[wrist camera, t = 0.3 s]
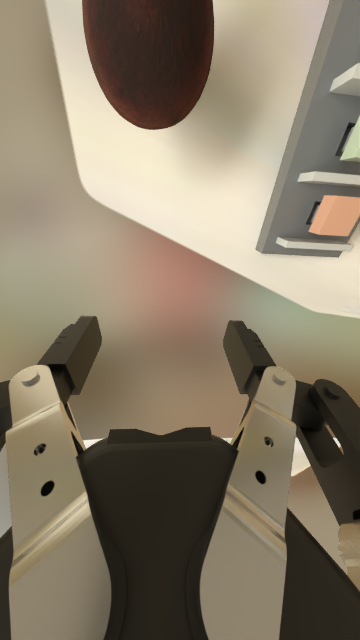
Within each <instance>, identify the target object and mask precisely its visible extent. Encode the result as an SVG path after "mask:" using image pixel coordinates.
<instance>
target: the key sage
mask: <svg viewBox="0 0 360 640" xmlns="http://www.w3.org/2000/svg"><path fill="white" fill-rule="evenodd" d="M342 151H344V152H343V154H342V157H341V159H340V160H343V161H353V162H360V116H359V118H358V120H357V123H356V125H355V126H354V127H352V128H351V131H350V133H349V135H348V138H347V140H346V142H345V144H344V147H343V149H342Z"/></svg>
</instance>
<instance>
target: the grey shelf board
mask: <svg viewBox="0 0 360 640" xmlns="http://www.w3.org/2000/svg"><path fill="white" fill-rule="evenodd" d="M359 116H360V0H330V2H329V5H328V9H327V12H326V15H325V19H324V22H323V25H322V29H321V32H320V35H319V39H318V42H317V45H316V49H315V52H314V56H313V59H312V62H311V66H310V69H309V72H308V76H307V79H306V82H305V86H304V89H303V92H302V96H301V99H300V102H299V106H298V109H297V112H296V116H295V119H294V122H293V126H292V129H291V132H290V136H289V139H288V142H287V146H286V149H285V153H284V156H283V159H282V163H281V166H280V169H279V173H278V176H277V179H276V183H275V186H274V189H273V193H272V196H271V199H270V203H269V206H268V209H267V213H266V216H265V219H264V223H263V226H262V229H261V233H260V236H259V239H258V243H257V246H256V250H257V251H259V252H261V253H265V254H284V255H303V256H322V257H339V256H340V254H341V253H342V251H351V249H352V248H353V246H354V245H352V244H348V243H347V242H348V240H349V239H350V237H351V235H352V234H353V232H354V230H355V228H356V227H357V225H358V223H359V221H360V216H359V218H358V219H357V221H356V223H355V225H354V226H353V228H352V230H351V232H350V233H349V235H348V236H334V235H318V234H315V233H311V232H308V231H309V229H310V227H311V225H312V222H311V220H312V218H313V216H314V213H315V211H316V209H317V206H318V205H320V204H321V202H322V200H323V197H324V195H329V196H347V197H359V198H360V162H353V161H343V160H340V159H341V157H342V154H343V152H344V151H342V149H343V147H344V144H345V142H346V140H347V138H348V135H349V133H350V131H351V128H352V127H354V126H355V125H356V123H357V120H358V118H359Z"/></svg>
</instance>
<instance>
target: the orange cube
mask: <svg viewBox="0 0 360 640" xmlns="http://www.w3.org/2000/svg"><path fill="white" fill-rule="evenodd" d="M359 216H360V198H359V197H347V196H329V195H324V197H323V200H322V202H321V204H320V205H318V206H317V209H316V211H315V213H314V216H313V218H312V220H311V222H312V225H311V227H310V229H309V231H308V232H311V233H315V234H318V235H334V236H348V235H349V233H350V232H351V230H352V228H353V226H354V225H355V223H356V221H357V219H358V218H359Z"/></svg>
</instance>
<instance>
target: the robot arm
mask: <svg viewBox="0 0 360 640" xmlns="http://www.w3.org/2000/svg"><path fill="white" fill-rule="evenodd" d="M101 342H102V336H101V332H100V328H99V324H98V320H97V317H96V316H81V317H80V318H79V319H78V321H77V322H76V323H75V324H71V325H69V326H68V327H67V328H65V329H64V330H63V331H62V332H61V333H60V335H59V336H58V338H57V339H56V340H55V341H54V344H52V345H51V347H50V348H49V349H48V350H47V352H46V353H45V354H44V356H43V357H42V358H41V360H40V361H39V362H38V364H37V365H35V366H31V367H28V368H25V369H23V370H22V371H20V372H19V373H17V374H16V375H15V376H14V377H13V378H12V380H9V381H5V382H1V383H0V451H1V449H2V448H3V446H4V444H5V443H6V451H7V464H8V479H9V493H10V507H11V520H12V526H11V527H10V528H9V530H7V532H6V533H5V534H4V535H3V536H2V537H1V538H0V640H360V408H359V407H358V405H357V404H356V403H355V402H354V401H353V399H352V398H351V397H350V396H349V395H348V393H347V392H346V391H345V390H344V389H343V388H341V387H340V386H339V385H337V384H335V383H334V382H331V381H329V380H325V379H318V380H316V381H315V383H314V384H313V385H311V384H307V383H304V382H300V381H296V380H295V379H294V378H293V377H292V375H291V374H290V373H288V372H287V371H286V370H284V369H282V368H279V367H277V366H276V365H275V363H274V362H273V360H272V358H271V356H270V355H269V353H268V352H267V350H266V348H264V345H263V344H262V342H261V340H260V339H259V337H258V336H257V334H256V333H254V332H253V331H252V330H251V329H247V327H246V326H245V324H244V322H243V321H232V320H230V321H229V322H228V326H227V329H226V332H225V336H224V339H223V347H224V350H225V353H226V356H227V358H228V362H229V364H230V367H231V370H232V373H233V376H234V378H235V381H236V384H237V387H238V390H239V393H240V394H248V396H249V400H248V402H247V404H246V407H245V410H244V412H243V415H242V418H241V420H240V423H239V425H238V428H237V431H236V433H235V435H234V437H233V439H232V441H231V444H229V443H228V442H227V441H225V440H223V439H221V438H219V437H217V436H215V435H211V430H210V427H193V428H184V429H181V430H178V431H174V432H172V433H169V434H165V435H156V434H152V433H149V432H145V431H141V430H138V429H115V430H114V429H113V430H110V432H109V436H108V438H105V439H103V440H100V441H98V442H96V443H95V444H93V445H91V446H90V447H89V448H87V449H86V448H85V445H84V443H83V441H82V439H81V436H80V434H79V431H78V428H77V426H76V423H75V420H74V417H73V415H72V412H71V409H70V406H69V403H68V399H69V397H70V395H79V394H80V392H81V390H82V387H83V385H84V383H85V381H86V378H87V376H88V374H89V372H90V369H91V367H92V365H93V362H94V360H95V358H96V356H97V353H98V351H99V349H100V346H101ZM327 425H329V427H330V428H331V430H332V431H333V433H334V435H335V436H336V438H337V439H338V441H339V443H340V444H341V446H342V448H343V452H344V455H343V454H342V452H341V451H340V449H339V447H338V446H337V444H336V442H335V441H334V439H333V438H332V436H331V434H330V433H329V431H328V430H327V428H326V426H327ZM295 435H297V437H298V439H299V441H300V444H301V446H302V448H303V450H304V452H305V454H306V456H307V458H308V460H309V463H310V465H311V467H312V469H313V471H314V473H315V475H316V477H317V479H318V482H319V484H320V486H321V488H322V490H323V492H324V494H325V496H326V498H327V500H328V503H329V505H330V507H331V509H332V511H333V513H334V515H335V517H336V519H337V522H338V524H339V526H340V528H339V531H338V538H339V543H340V544H339V546H338V550H339V554H340V557H341V559H342V561H343V562H344V564H345V565H346V566H347V574H348V576H347V575H346V573H345V572H344V571H343V570H342V569H341V568H340V567H339V566H338V564H337V563H336V562H335V561H334V560H333V559H332V558H331V556H330V555H329V554H328V553H327V552H326V551H325V550H324V548H323V547H322V546H321V545H320V544H319V543H318V542H317V540H316V539H315V538H314V537H313V536H312V535H311V534H310V533H309V531H308V530H307V529H306V528H305V527H304V526H303V525H302V523H301V522H300V521H299V520H298V519H297V518H296V517H295V515H294V514H293V513H292V512H291V511H290V510H289V509H288V507H287V503H288V495H289V487H290V478H291V470H292V461H293V452H294V444H295Z"/></svg>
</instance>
